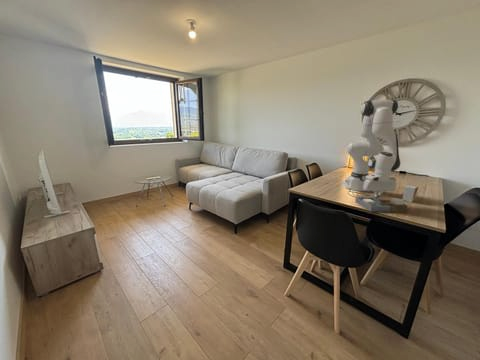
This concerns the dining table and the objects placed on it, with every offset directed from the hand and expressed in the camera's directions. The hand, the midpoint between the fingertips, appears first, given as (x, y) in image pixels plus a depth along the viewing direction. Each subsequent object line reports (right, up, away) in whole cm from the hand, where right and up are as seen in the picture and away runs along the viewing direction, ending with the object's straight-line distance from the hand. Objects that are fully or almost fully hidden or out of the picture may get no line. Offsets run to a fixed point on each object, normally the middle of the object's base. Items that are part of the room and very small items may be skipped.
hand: (377, 196), depth 133 cm
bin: (-6, -6, -3) cm, 9 cm away
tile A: (-6, -2, 0) cm, 6 cm away
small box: (+30, -3, +10) cm, 32 cm away
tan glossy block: (+6, -6, -2) cm, 9 cm away
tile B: (+7, -3, -7) cm, 11 cm away
